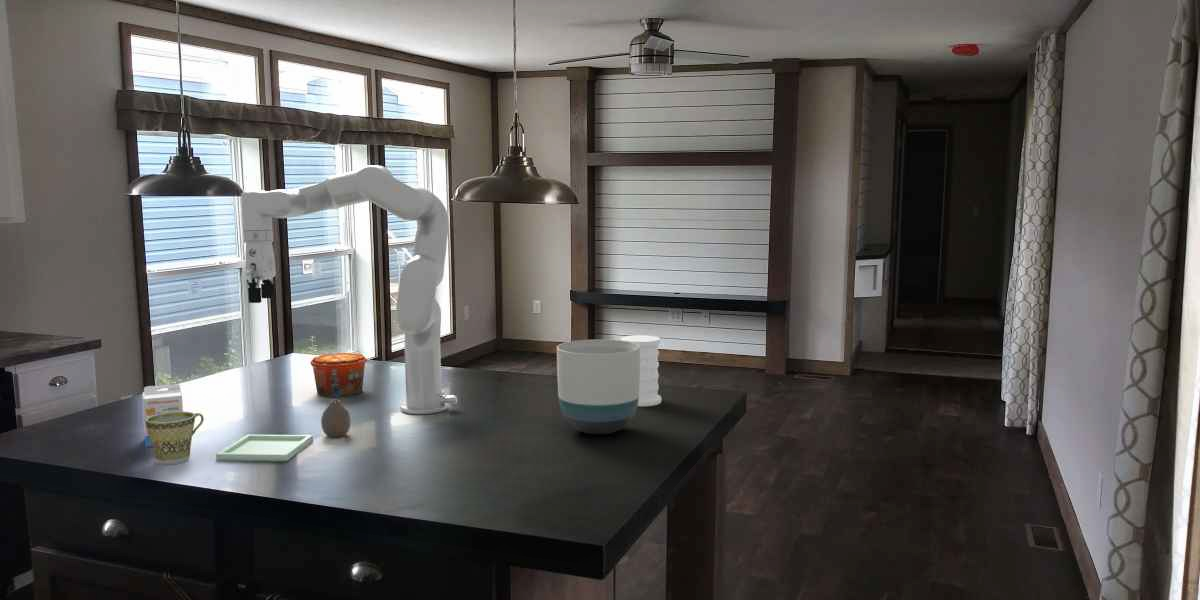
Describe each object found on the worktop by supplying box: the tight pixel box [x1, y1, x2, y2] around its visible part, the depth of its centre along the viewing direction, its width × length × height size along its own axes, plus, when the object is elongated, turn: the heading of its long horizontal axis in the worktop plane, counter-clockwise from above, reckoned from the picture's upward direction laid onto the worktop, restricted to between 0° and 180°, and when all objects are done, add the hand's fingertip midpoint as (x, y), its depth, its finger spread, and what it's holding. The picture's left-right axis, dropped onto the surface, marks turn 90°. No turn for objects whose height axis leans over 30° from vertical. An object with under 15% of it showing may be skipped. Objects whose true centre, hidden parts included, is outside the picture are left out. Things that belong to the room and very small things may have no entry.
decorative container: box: [620, 334, 662, 407], centre depth 255 cm, size 12×12×18 cm
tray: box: [215, 433, 314, 462], centre depth 210 cm, size 16×16×2 cm
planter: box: [556, 339, 640, 436], centre depth 223 cm, size 20×20×21 cm
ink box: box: [142, 383, 184, 448], centre depth 218 cm, size 9×8×13 cm
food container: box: [310, 352, 368, 398], centre depth 268 cm, size 16×16×11 cm
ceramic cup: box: [145, 411, 205, 466], centre depth 204 cm, size 13×10×10 cm
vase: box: [320, 399, 352, 439], centre depth 222 cm, size 7×7×9 cm
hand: (261, 300), depth 245 cm, fingers open, 9 cm apart
